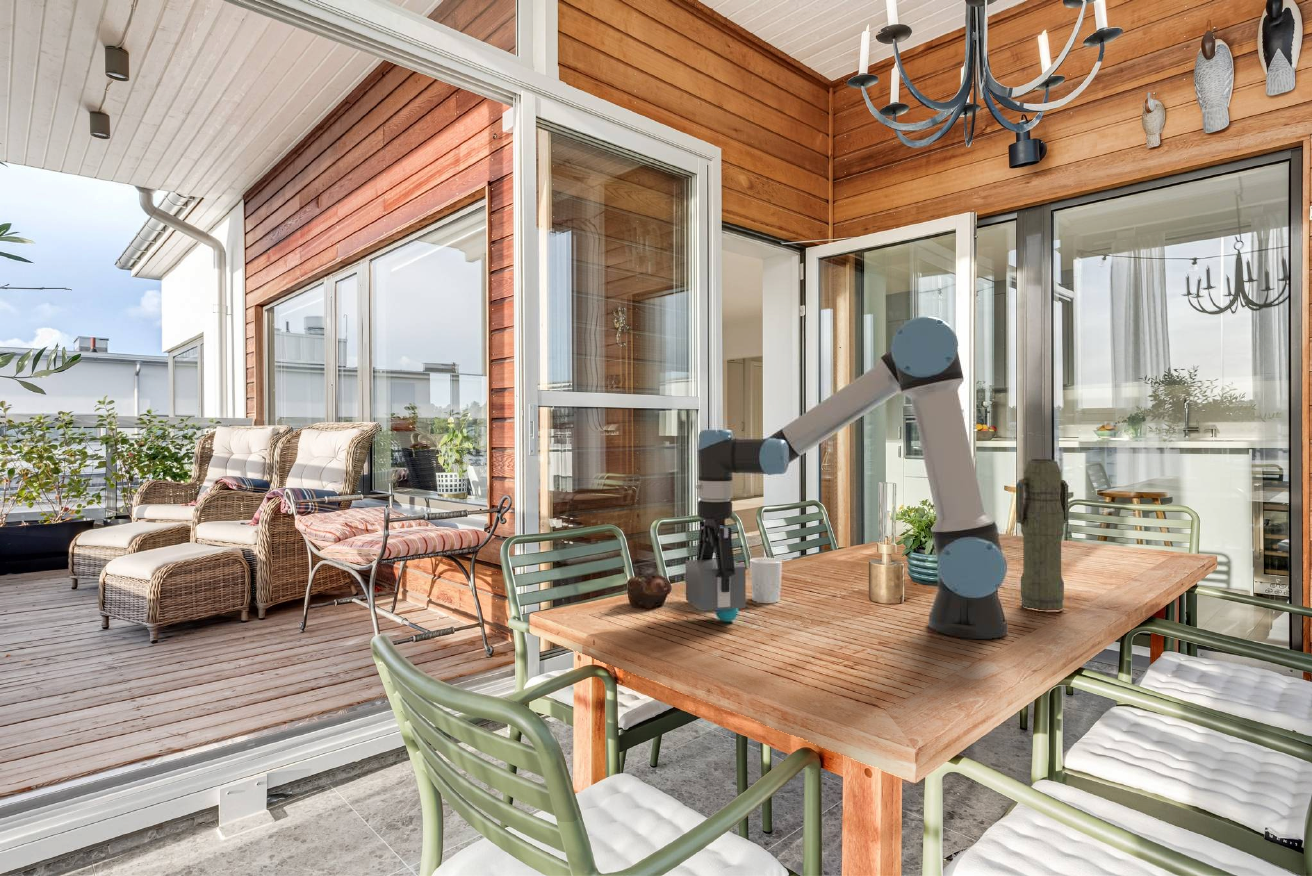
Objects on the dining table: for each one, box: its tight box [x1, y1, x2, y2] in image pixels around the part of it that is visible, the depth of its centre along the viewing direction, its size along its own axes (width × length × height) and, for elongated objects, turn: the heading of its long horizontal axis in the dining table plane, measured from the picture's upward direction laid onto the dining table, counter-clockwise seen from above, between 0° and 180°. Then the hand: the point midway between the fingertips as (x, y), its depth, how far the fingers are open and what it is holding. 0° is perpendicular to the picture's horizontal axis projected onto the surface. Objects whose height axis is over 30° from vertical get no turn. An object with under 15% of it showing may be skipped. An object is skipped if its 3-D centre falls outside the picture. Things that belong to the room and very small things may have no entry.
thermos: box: [1015, 458, 1069, 610], centre depth 167 cm, size 9×12×35 cm
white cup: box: [749, 556, 783, 604], centre depth 176 cm, size 8×8×10 cm
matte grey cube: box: [685, 558, 747, 612], centre depth 156 cm, size 10×10×9 cm
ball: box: [714, 608, 739, 623], centre depth 157 cm, size 5×5×5 cm
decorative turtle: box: [626, 572, 673, 610], centre depth 171 cm, size 10×15×8 cm, turn 147°
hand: (714, 600), depth 156 cm, fingers closed on matte grey cube, 10 cm apart
